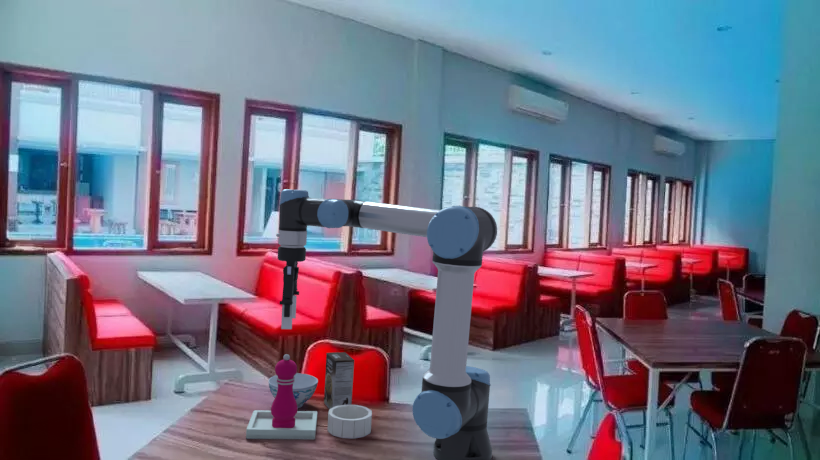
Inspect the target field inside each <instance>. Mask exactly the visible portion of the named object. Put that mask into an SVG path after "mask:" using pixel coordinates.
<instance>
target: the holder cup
mask: <svg viewBox="0 0 820 460" xmlns="http://www.w3.org/2000/svg"><path fill="white" fill-rule="evenodd" d="M327 414H328V415H327V432H328V433H329V434H330V435H331V436H335V437H338V438H342V439H358V438H364V437H367V435H370V434H371V430H372V419H373V418H372V417H373V411H372V409H370V408H368V407H366V406H363V405H360V404H359V405H358V404H352V405H339V406H335V407H333V408H331V409H329V408H328V412H327Z"/></svg>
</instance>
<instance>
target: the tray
mask: <svg viewBox="0 0 820 460" xmlns="http://www.w3.org/2000/svg"><path fill="white" fill-rule="evenodd" d="M273 418H274V417H273V415H272V414H271V409H270V410H269V409H268V410H267V409H265V410H261V409H260V410H259V409H257V410H256V409H255V410H253V411H252V414H251V416H250V419H249V422H248V424H247V426H246V430H245V433H246V434H245V436H246V437H245V439H246V440H247V439H250V440H251V439H253V440H255V439H256V440H260V439H261V440H316V431H317V422H318V411H317V410H306V411H305V410H297V413H296V415H295V416H294V418H295V426H294V427H293V428H274V427H273V426H272V419H273Z"/></svg>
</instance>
